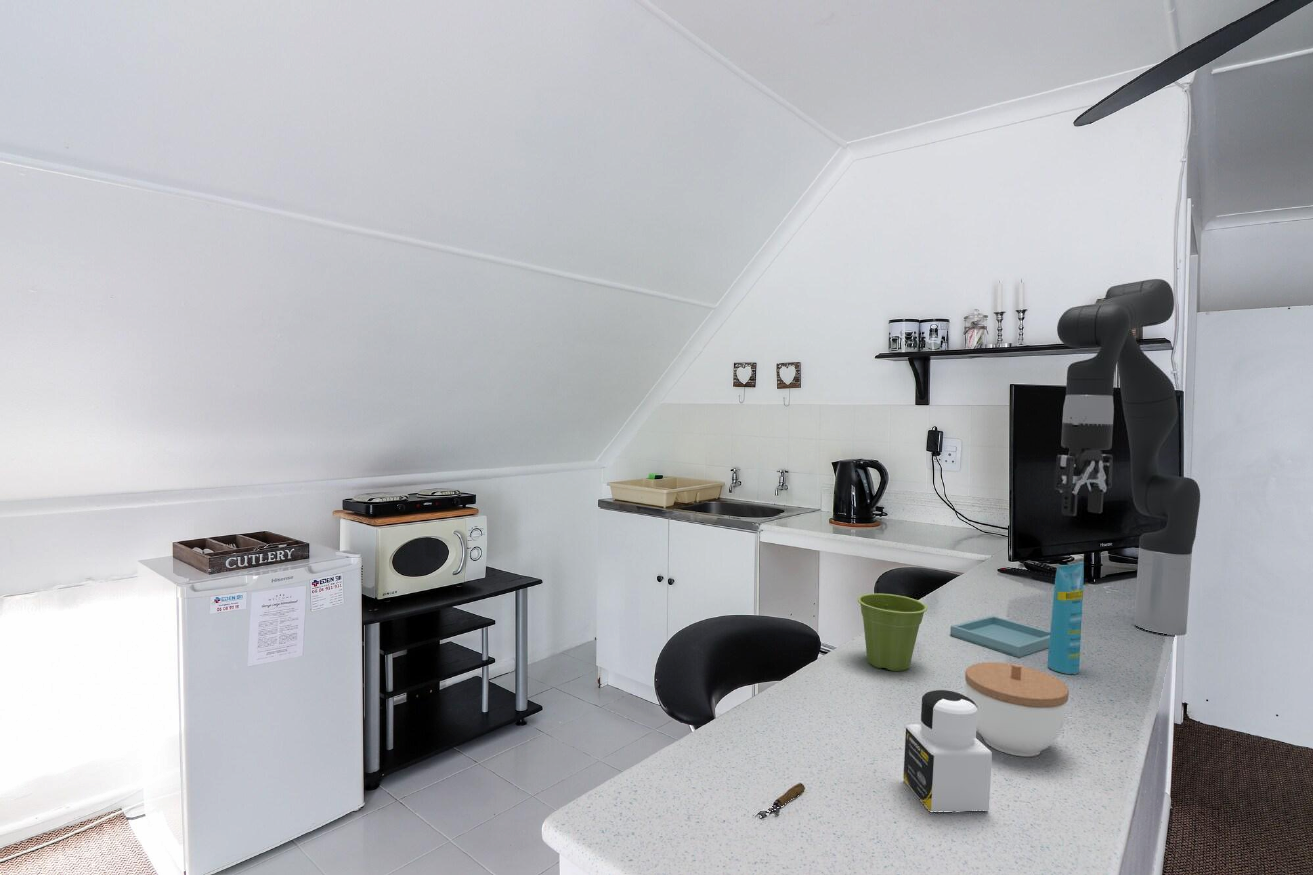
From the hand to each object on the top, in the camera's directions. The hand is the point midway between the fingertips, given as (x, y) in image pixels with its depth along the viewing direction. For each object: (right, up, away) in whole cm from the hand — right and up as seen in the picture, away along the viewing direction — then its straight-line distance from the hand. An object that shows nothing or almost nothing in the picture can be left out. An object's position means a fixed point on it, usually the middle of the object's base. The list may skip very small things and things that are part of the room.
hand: (1081, 514), depth 123 cm
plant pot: (-33, -27, +2) cm, 43 cm away
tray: (-5, -27, +18) cm, 33 cm away
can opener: (-61, -29, -43) cm, 79 cm away
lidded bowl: (-26, -29, -26) cm, 47 cm away
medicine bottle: (-41, -29, -40) cm, 64 cm away
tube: (-2, -28, +3) cm, 28 cm away
